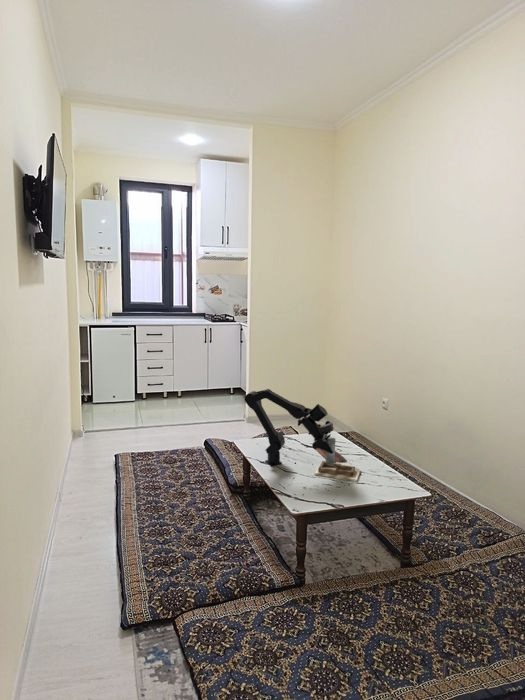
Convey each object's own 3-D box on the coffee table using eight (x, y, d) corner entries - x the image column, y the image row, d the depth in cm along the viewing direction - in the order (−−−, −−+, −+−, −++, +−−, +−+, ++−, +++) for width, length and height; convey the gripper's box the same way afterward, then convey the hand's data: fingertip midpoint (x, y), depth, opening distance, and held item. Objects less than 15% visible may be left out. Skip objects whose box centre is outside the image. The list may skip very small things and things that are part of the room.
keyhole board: (314, 474, 228) (315, 468, 227) (320, 464, 240) (320, 459, 239) (356, 481, 221) (357, 475, 221) (360, 471, 233) (360, 465, 233)
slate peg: (324, 464, 231) (325, 438, 229) (328, 461, 234) (329, 436, 232) (331, 466, 228) (333, 440, 226) (335, 463, 232) (336, 438, 230)
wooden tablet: (310, 443, 267) (327, 440, 269) (311, 447, 267) (327, 444, 270) (330, 461, 242) (347, 458, 244) (330, 466, 242) (348, 462, 245)
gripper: (320, 422, 220) (342, 448, 218) (328, 412, 238) (348, 436, 236) (302, 436, 224) (324, 462, 222) (312, 425, 241) (332, 448, 240)
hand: (333, 451), depth 230 cm, fingers closed on slate peg, 4 cm apart
